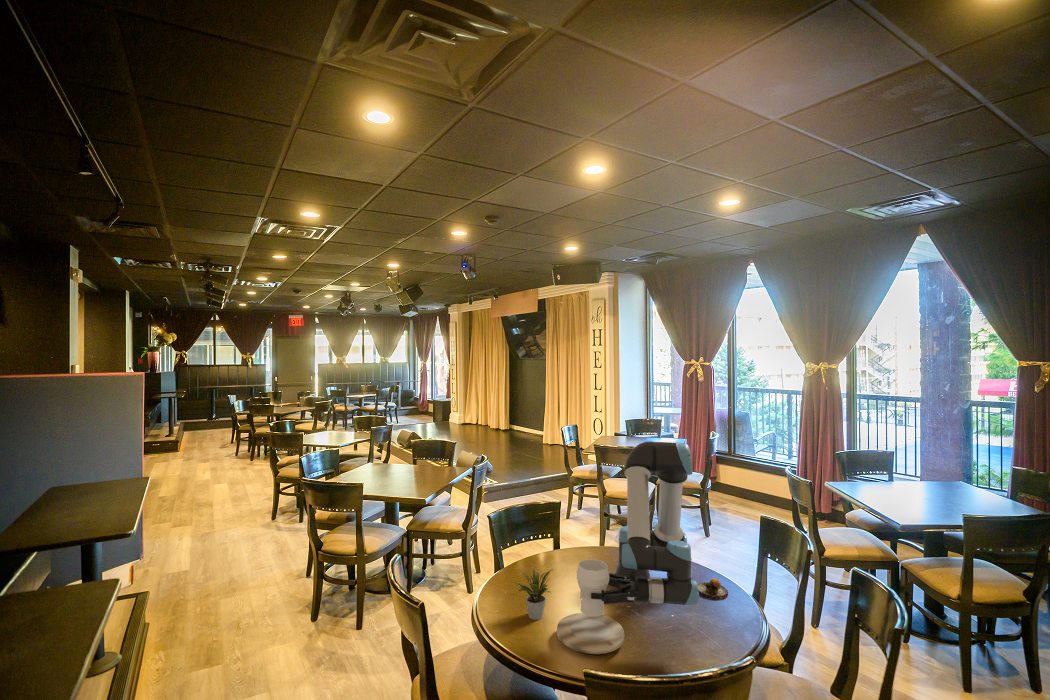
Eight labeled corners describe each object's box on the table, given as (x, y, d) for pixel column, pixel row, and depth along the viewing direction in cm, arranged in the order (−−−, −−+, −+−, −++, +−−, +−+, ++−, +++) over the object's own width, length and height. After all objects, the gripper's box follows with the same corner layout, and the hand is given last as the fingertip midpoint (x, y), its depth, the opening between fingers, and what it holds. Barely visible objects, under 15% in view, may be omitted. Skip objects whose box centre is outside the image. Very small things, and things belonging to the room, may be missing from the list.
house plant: (536, 600, 193) (537, 557, 193) (564, 614, 183) (564, 569, 183) (509, 613, 183) (510, 568, 183) (536, 629, 173) (537, 581, 173)
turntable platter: (544, 627, 170) (544, 623, 170) (594, 611, 181) (594, 606, 181) (584, 661, 151) (585, 656, 151) (638, 641, 163) (638, 636, 163)
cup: (608, 621, 160) (608, 573, 160) (574, 617, 162) (575, 570, 162) (609, 604, 170) (609, 560, 170) (577, 601, 172) (578, 557, 173)
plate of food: (704, 583, 210) (704, 565, 210) (732, 593, 202) (733, 574, 202) (691, 593, 201) (691, 574, 202) (720, 603, 193) (720, 584, 193)
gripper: (653, 619, 153) (580, 614, 155) (643, 585, 176) (579, 581, 178) (654, 594, 153) (580, 590, 155) (643, 563, 176) (580, 560, 178)
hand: (580, 585), depth 167 cm, fingers closed on cup, 10 cm apart
